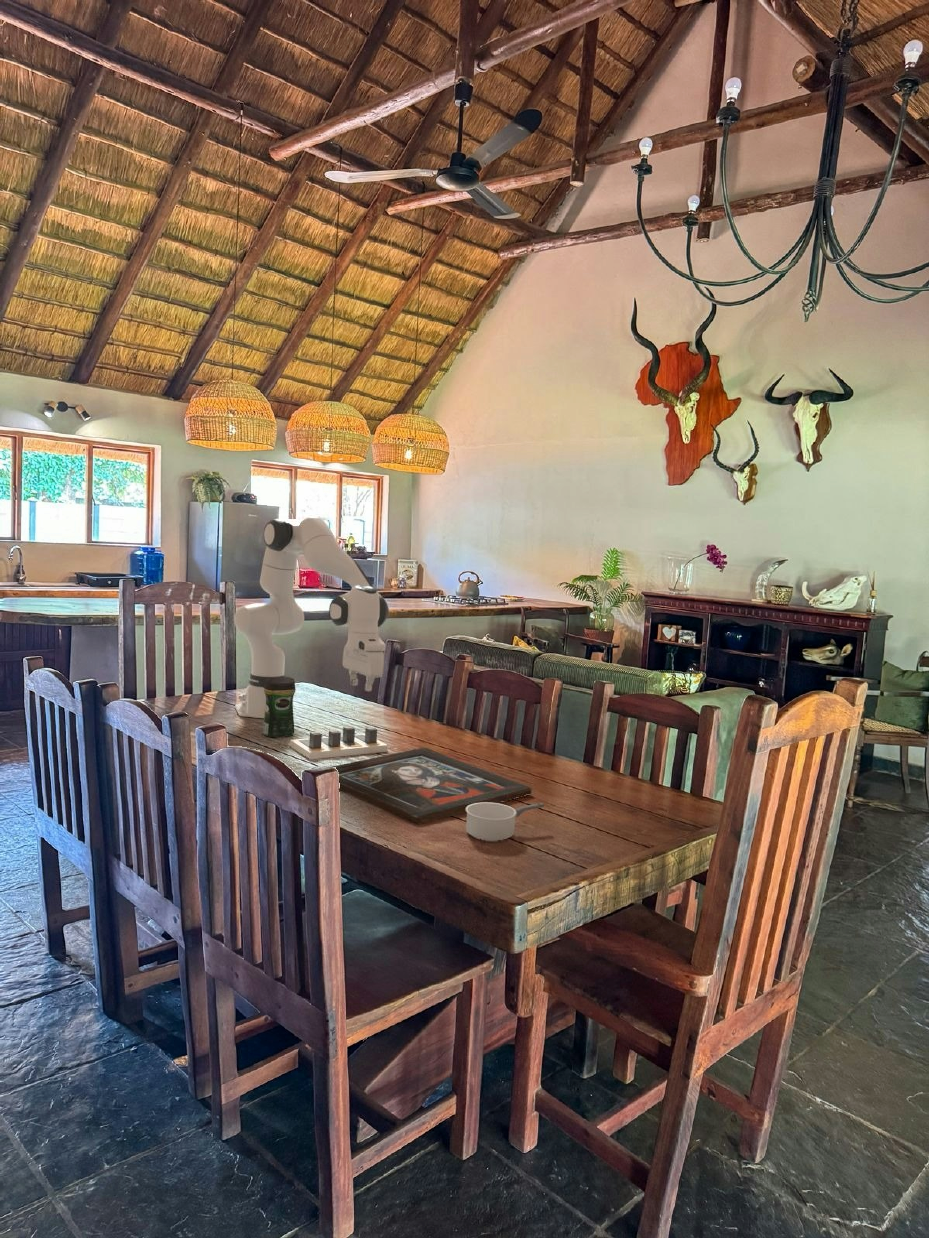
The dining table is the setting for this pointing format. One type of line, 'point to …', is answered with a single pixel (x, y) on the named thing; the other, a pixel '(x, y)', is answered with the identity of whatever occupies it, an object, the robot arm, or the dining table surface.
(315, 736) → the block
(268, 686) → the coffee jar
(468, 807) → the saucepan
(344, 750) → the panel
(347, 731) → the block
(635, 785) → the dining table surface
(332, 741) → the block
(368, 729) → the block
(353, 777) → the religious icon
